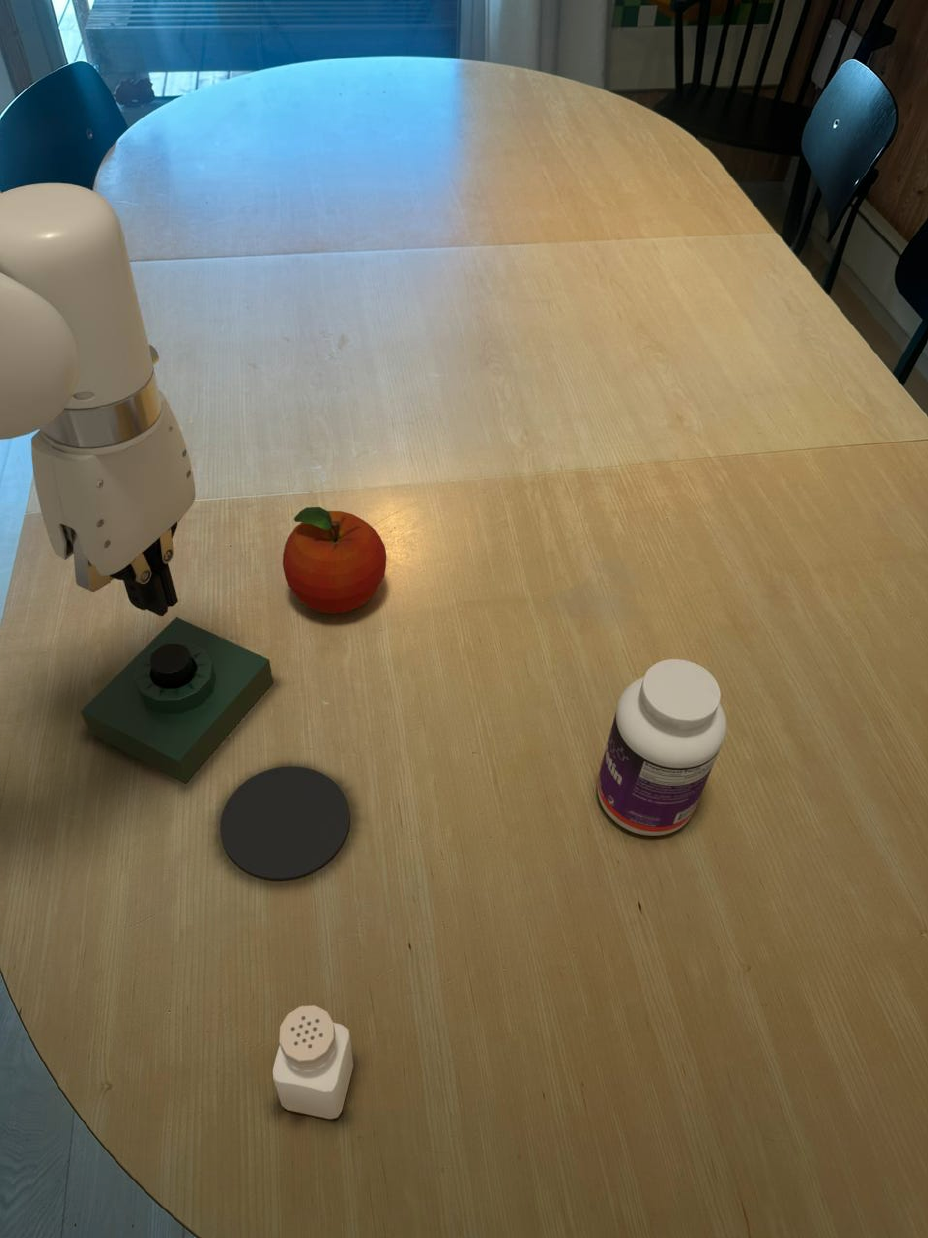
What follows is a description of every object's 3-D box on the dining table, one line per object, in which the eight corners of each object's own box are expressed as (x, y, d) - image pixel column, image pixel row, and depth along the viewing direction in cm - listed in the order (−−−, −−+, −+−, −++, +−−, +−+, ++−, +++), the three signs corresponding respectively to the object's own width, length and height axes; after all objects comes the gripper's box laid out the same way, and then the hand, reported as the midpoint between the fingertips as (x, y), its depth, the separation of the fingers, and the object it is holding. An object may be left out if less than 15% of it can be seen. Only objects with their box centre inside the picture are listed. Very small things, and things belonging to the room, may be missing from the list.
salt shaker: (356, 1059, 64) (349, 1005, 57) (339, 1124, 61) (330, 1075, 54) (297, 1047, 65) (283, 991, 58) (279, 1111, 62) (262, 1060, 55)
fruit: (375, 637, 89) (372, 559, 82) (275, 622, 90) (262, 543, 83) (397, 566, 96) (396, 488, 88) (303, 553, 97) (294, 474, 89)
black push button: (177, 694, 78) (172, 678, 77) (146, 679, 79) (141, 663, 78) (202, 668, 80) (198, 652, 79) (171, 653, 81) (167, 637, 80)
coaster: (302, 903, 71) (302, 901, 71) (194, 844, 74) (193, 841, 74) (373, 801, 78) (373, 798, 77) (270, 750, 80) (270, 747, 80)
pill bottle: (599, 749, 82) (627, 636, 71) (694, 765, 81) (737, 653, 71) (591, 832, 76) (620, 723, 66) (693, 850, 76) (739, 743, 65)
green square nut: (185, 784, 78) (174, 748, 74) (90, 734, 81) (74, 697, 77) (273, 682, 85) (267, 645, 82) (182, 640, 88) (172, 602, 84)
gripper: (131, 327, 66) (179, 528, 79) (-43, 444, 56) (45, 649, 70) (221, 359, 63) (254, 561, 77) (55, 486, 54) (126, 690, 68)
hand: (154, 602), depth 73 cm, fingers closed
